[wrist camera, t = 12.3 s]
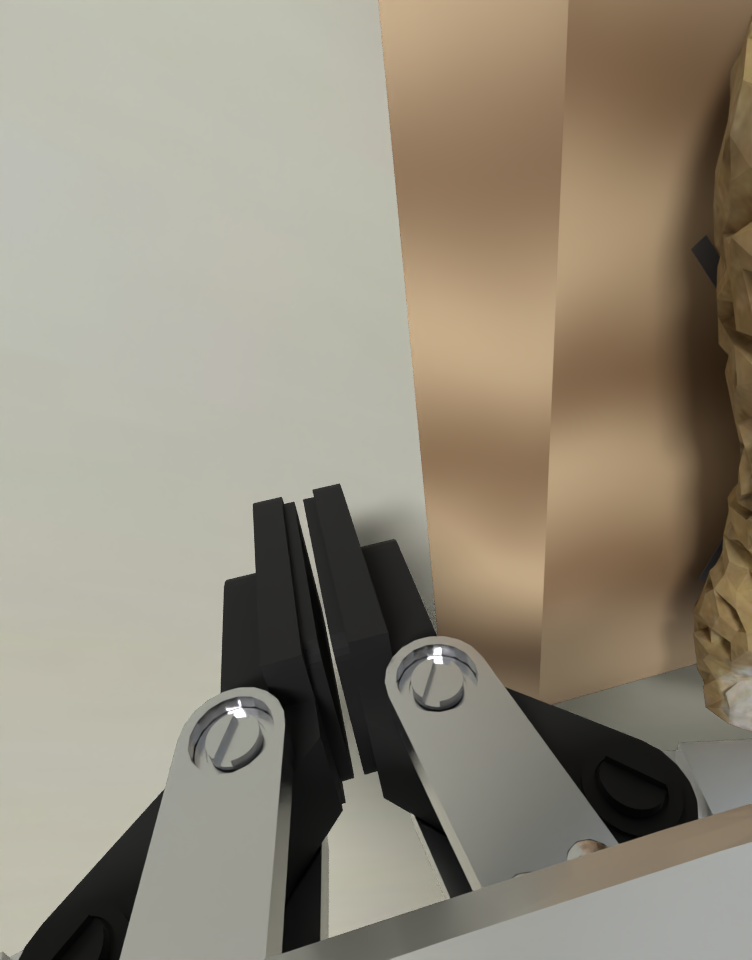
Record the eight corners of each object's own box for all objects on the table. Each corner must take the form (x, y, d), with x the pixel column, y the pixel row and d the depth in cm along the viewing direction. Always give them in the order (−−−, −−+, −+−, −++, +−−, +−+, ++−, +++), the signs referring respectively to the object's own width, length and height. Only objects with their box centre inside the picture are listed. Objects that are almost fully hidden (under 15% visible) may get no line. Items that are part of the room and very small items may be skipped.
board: (274, -139, 9) (281, -208, 8) (1249, -216, 12) (1416, -279, 10) (401, 696, 21) (416, 743, 19) (892, 563, 23) (944, 594, 22)
